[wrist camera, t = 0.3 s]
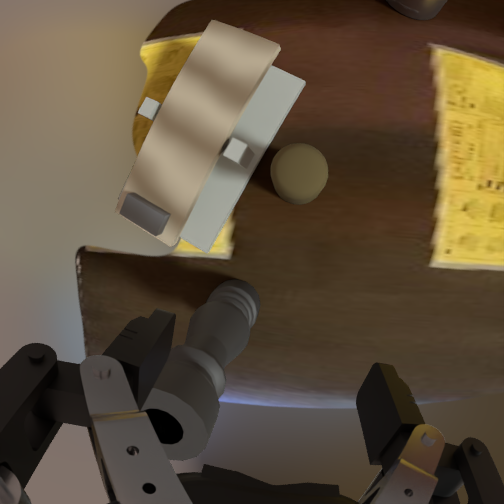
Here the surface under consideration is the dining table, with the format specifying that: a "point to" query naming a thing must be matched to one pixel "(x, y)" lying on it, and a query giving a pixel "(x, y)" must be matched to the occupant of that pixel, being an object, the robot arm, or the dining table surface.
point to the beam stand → (237, 154)
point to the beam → (194, 128)
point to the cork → (299, 173)
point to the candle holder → (201, 370)
